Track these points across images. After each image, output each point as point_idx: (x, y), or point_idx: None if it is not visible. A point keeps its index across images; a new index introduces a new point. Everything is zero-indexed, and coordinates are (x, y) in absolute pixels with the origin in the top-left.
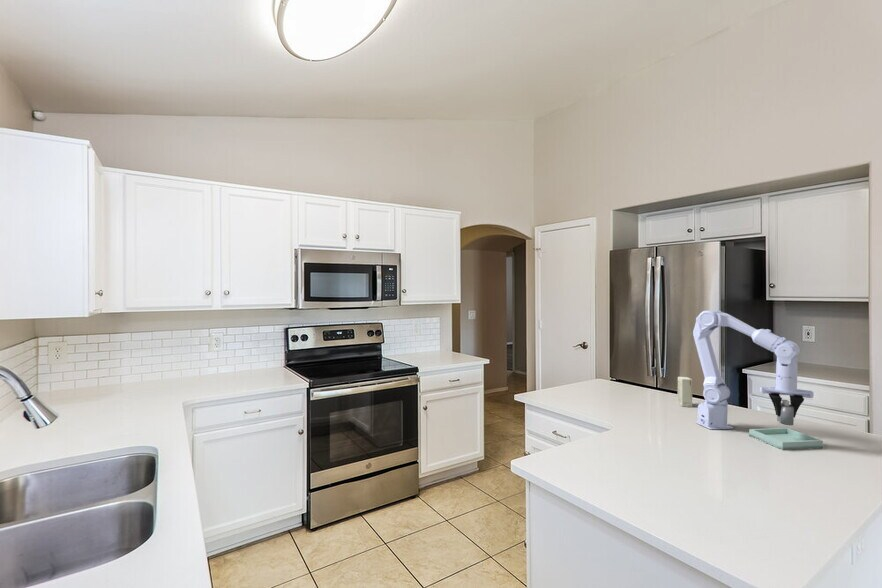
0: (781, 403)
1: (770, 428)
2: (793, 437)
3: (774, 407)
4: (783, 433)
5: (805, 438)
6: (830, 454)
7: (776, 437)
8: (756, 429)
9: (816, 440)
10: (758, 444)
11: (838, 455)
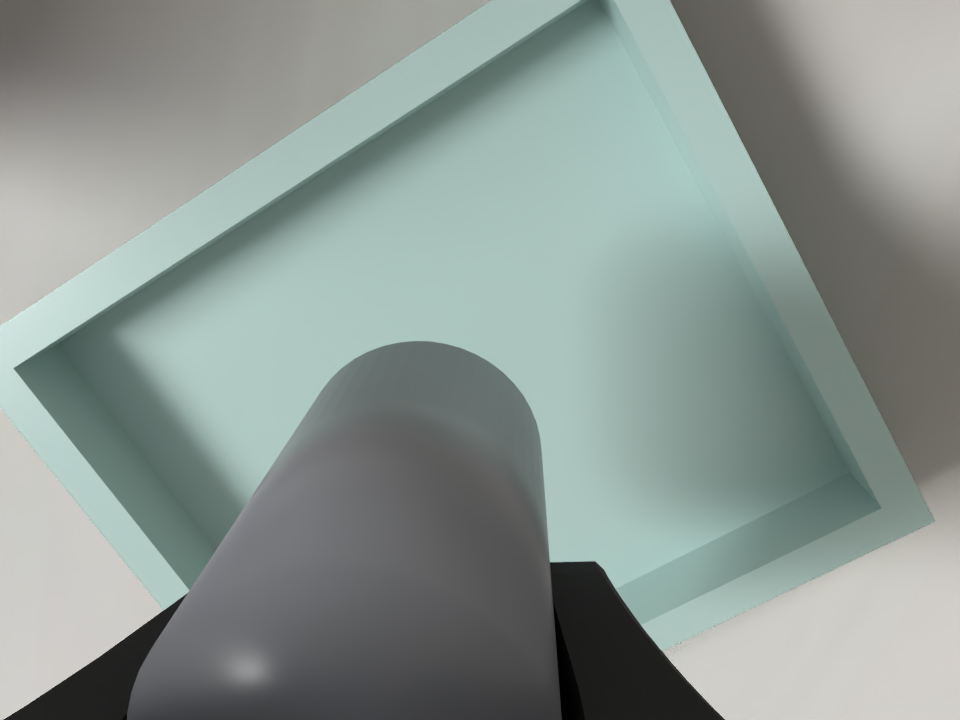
0: (264, 718)
1: (300, 133)
2: (626, 227)
3: (97, 672)
4: (536, 36)
5: (769, 310)
6: (859, 675)
7: (363, 349)
8: (62, 323)
9: (835, 551)
10: (113, 637)
11: (941, 675)
